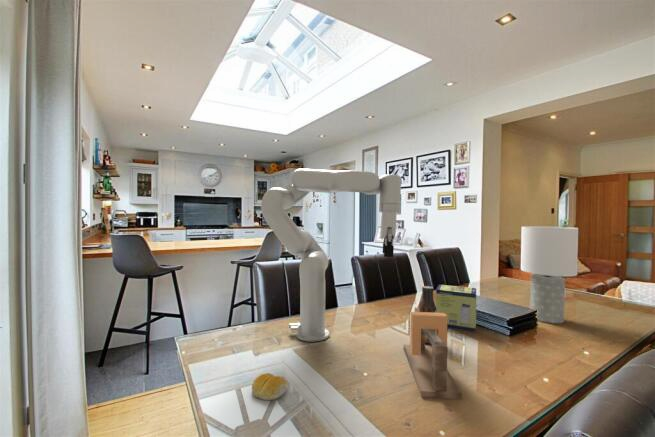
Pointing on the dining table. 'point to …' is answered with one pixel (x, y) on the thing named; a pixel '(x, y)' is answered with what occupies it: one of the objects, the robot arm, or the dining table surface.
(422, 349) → the rail stand
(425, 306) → the sauce bottle
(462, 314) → the protein box
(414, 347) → the wooden arch block
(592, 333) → the dining table surface
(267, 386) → the bread roll
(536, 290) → the lamp
